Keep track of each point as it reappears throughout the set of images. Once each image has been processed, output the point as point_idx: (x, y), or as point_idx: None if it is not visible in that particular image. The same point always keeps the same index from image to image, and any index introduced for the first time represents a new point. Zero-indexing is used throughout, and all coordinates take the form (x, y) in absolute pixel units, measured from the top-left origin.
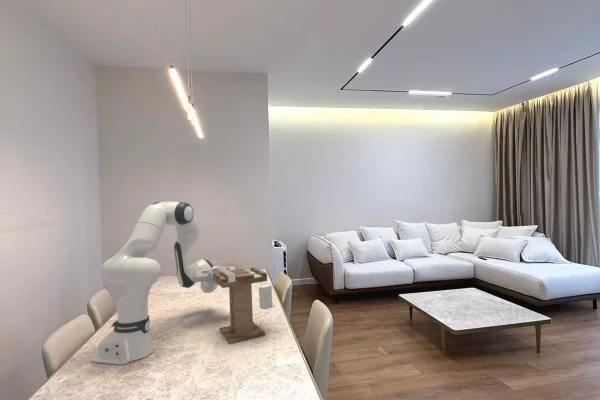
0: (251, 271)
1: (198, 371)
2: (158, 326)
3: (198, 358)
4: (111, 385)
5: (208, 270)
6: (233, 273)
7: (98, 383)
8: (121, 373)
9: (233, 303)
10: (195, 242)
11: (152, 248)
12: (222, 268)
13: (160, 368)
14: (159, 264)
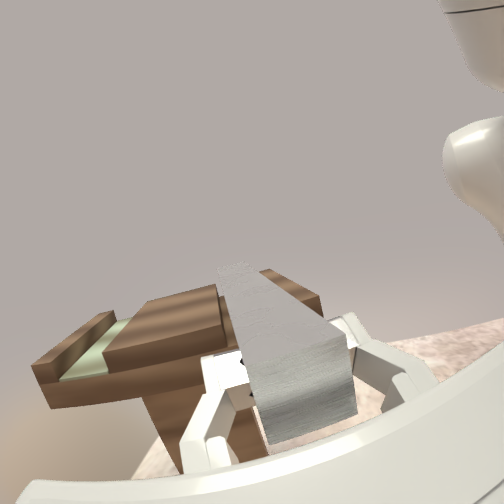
0: (77, 364)
1: (357, 378)
2: None
3: (371, 406)
4: (477, 335)
5: (416, 365)
6: (218, 270)
7: (500, 331)
8: None
9: (252, 408)
10: None
11: (487, 85)
12: (244, 290)
13: (434, 372)
14: (449, 150)
